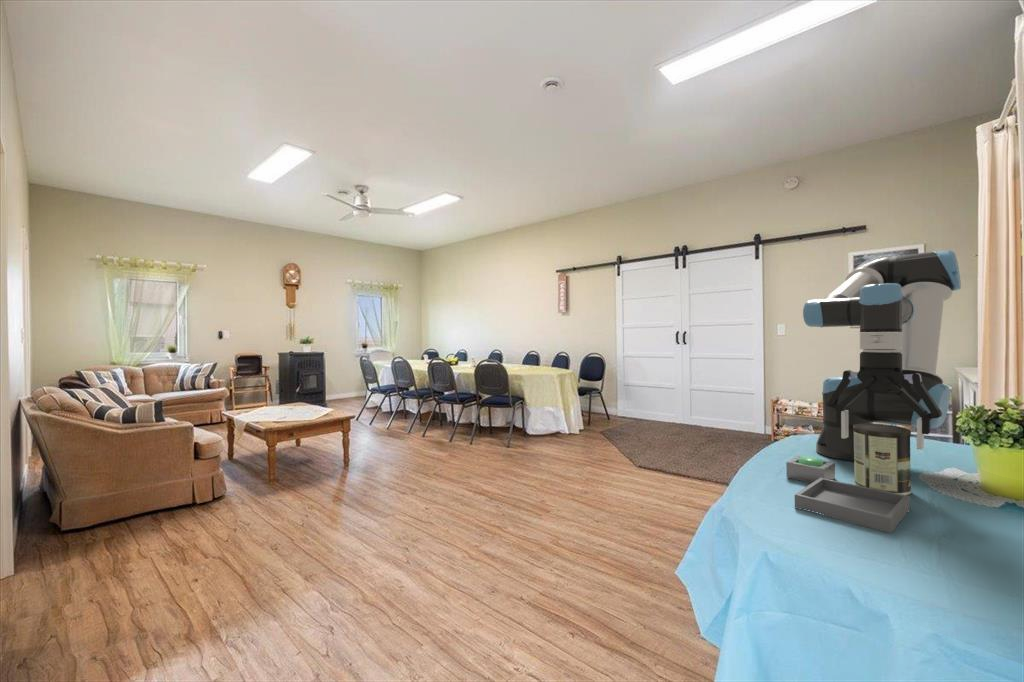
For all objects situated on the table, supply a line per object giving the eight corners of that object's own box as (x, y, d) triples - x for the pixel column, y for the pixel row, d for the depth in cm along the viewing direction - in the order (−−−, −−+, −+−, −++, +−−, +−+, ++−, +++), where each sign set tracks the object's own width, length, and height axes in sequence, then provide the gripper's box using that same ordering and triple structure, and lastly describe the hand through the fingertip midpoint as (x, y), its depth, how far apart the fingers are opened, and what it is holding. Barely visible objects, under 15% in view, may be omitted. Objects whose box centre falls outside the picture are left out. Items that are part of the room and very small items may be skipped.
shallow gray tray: (820, 489, 102) (820, 477, 102) (909, 509, 90) (909, 496, 90) (794, 507, 92) (794, 494, 92) (890, 533, 80) (890, 518, 80)
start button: (802, 470, 113) (802, 455, 113) (825, 475, 109) (825, 459, 109) (795, 474, 110) (795, 459, 110) (818, 479, 106) (818, 463, 106)
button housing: (798, 470, 115) (798, 455, 115) (835, 478, 109) (834, 462, 109) (786, 477, 110) (786, 461, 110) (824, 486, 104) (823, 469, 104)
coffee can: (892, 481, 106) (892, 423, 106) (923, 497, 96) (922, 433, 95) (844, 479, 108) (843, 422, 108) (869, 495, 98) (868, 432, 98)
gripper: (812, 350, 109) (812, 435, 109) (954, 352, 89) (954, 456, 89) (822, 349, 113) (822, 431, 113) (959, 351, 94) (959, 450, 94)
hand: (880, 442), depth 101 cm, fingers open, 13 cm apart
